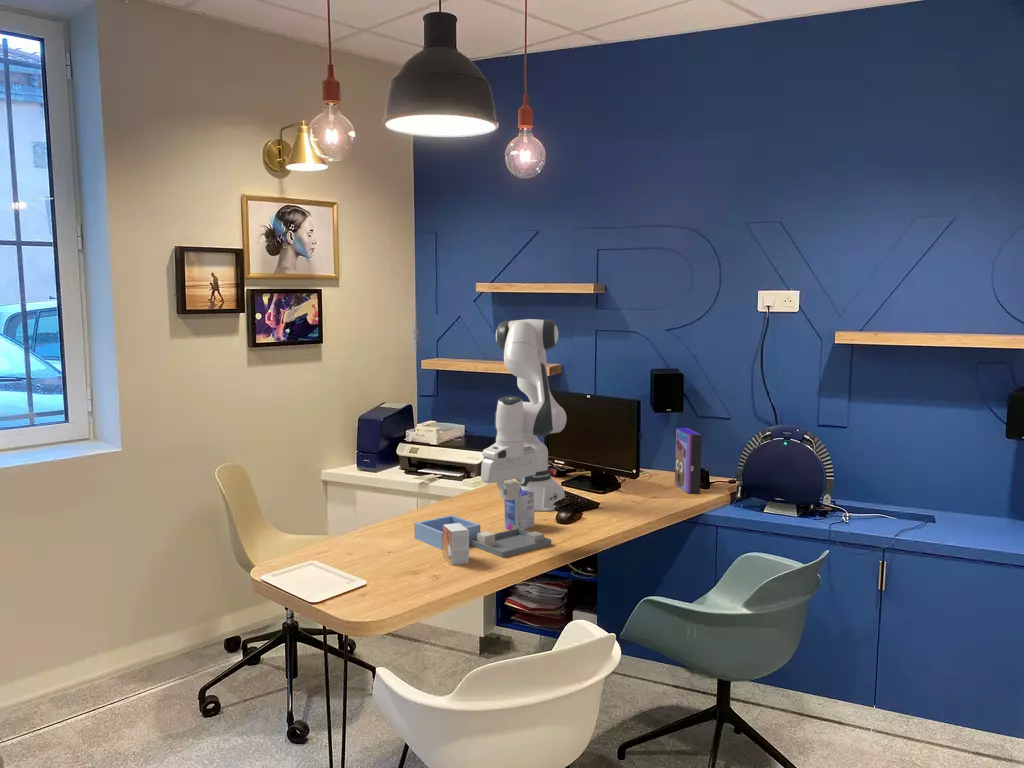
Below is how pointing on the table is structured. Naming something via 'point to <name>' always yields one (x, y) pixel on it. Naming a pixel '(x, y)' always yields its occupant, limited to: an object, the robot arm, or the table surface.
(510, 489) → the beige cardboard cube
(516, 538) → the parts tray
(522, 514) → the ink cartridge box
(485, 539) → the cream sharp-edged cube
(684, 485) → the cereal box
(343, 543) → the table surface
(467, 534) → the small box
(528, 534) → the gray cube
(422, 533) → the blue square bin
